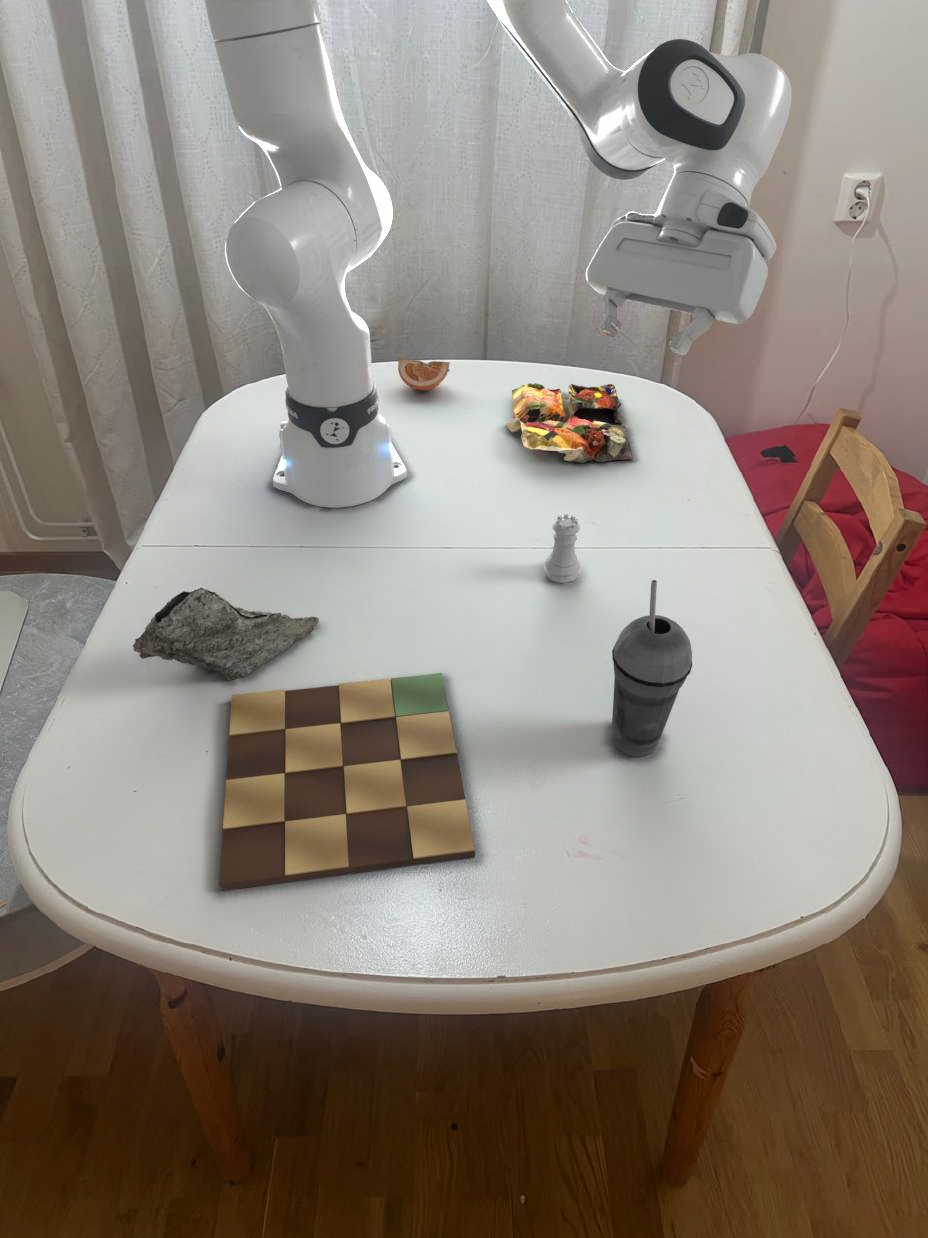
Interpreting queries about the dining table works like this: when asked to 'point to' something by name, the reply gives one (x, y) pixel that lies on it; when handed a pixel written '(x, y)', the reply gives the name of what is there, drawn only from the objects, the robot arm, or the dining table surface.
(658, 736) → the beverage cup
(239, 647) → the concrete fragment
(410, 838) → the board
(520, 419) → the food
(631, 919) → the dining table surface
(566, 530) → the rook chess piece
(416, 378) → the fruit slice
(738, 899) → the dining table surface
